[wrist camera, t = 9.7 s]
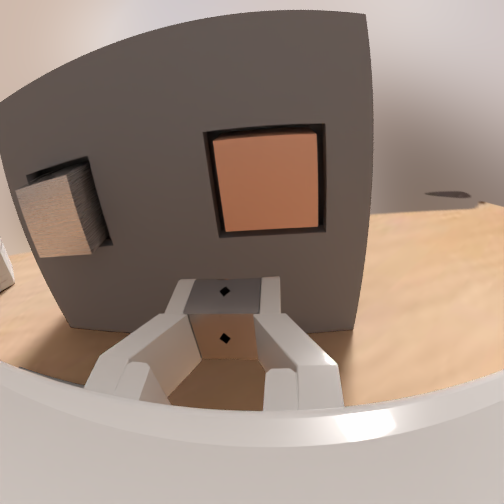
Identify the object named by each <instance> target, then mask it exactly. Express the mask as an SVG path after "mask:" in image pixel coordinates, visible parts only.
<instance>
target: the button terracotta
mask: <svg viewBox="0 0 504 504" xmlns="http://www.w3.org/2000/svg"><path fill="white" fill-rule="evenodd" d="M213 146H214V153H215V161H216V168H217V175H218V182H219V189H220V196H221V203H222V210H223V216H224V223H225V229H226V232H231V231H247V230H264V229H282V228H301V227H318V162H317V134H316V133H315V132H314V131H313V130H311V129H310V128H309V127H288V128H270V129H256V130H244V131H234V132H225V133H221V134H220V135H219V136H218V137H217V138H216V139H215V140H214V141H213Z"/></svg>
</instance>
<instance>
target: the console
mask: <svg viewBox="0 0 504 504" xmlns="http://www.w3.org/2000/svg"><path fill="white" fill-rule="evenodd" d="M288 127H309V128H310V129H311V130H313V131H314V132H315V133H316V134H317V162H318V227H301V228H282V229H264V230H247V231H231V232H226V229H225V223H224V216H223V210H222V203H221V196H220V189H219V182H218V175H217V168H216V161H215V153H214V146H213V141H214V140H215V139H216V138H217V137H218V136H219V135H220V134H221V133H225V132H234V131H244V130H256V129H270V128H288ZM0 155H1V159H2V163H3V167H4V171H5V175H6V179H7V182H8V186H9V189H10V193H11V196H12V199H13V202H14V205H15V208H16V211H17V214H18V217H19V220H20V222H21V225H22V228H23V230H24V233H25V236H26V238H27V241H28V243H29V245H30V248H31V250H32V253H33V255H34V257H35V259H36V262H37V264H38V266H39V268H40V270H41V272H42V275H43V277H44V279H45V281H46V283H47V285H48V287H49V289H50V291H51V293H52V295H53V296H54V298H55V300H56V302H57V304H58V306H59V308H60V309H61V311H62V313H63V315H64V316H65V318H66V320H67V322H68V323H69V325H70V327H73V328H82V329H92V330H102V331H114V332H127V333H133V332H134V331H135V330H137V329H138V328H140V327H141V326H143V325H144V324H145V323H147V322H148V321H150V320H151V319H153V318H154V317H155V316H157V315H158V314H164V313H165V310H166V308H167V306H168V303H169V301H170V299H171V297H172V294H173V292H174V290H175V288H176V285H177V283H178V281H179V280H181V279H244V278H262V277H274V276H279V277H280V292H281V313H286V314H287V315H288V316H289V317H290V318H291V319H292V320H293V321H294V322H295V323H296V324H297V325H298V326H299V327H300V328H301V329H302V330H303V331H304V332H305V333H316V332H330V331H342V330H352V329H353V328H354V323H355V318H356V313H357V307H358V302H359V296H360V290H361V283H362V277H363V270H364V262H365V255H366V247H367V238H368V228H369V218H370V205H371V190H372V173H373V89H372V71H371V59H370V47H369V39H368V29H367V22H366V15H365V14H359V13H350V12H338V11H321V10H279V11H278V10H277V11H260V12H248V13H239V14H230V15H224V16H217V17H211V18H204V19H199V20H194V21H189V22H184V23H181V24H176V25H171V26H168V27H164V28H160V29H157V30H153V31H149V32H146V33H142V34H139V35H136V36H133V37H130V38H127V39H124V40H121V41H118V42H116V43H113V44H110V45H108V46H105V47H103V48H100V49H97V50H95V51H93V52H90V53H88V54H86V55H83V56H81V57H79V58H77V59H75V60H73V61H70V62H68V63H66V64H64V65H62V66H60V67H58V68H56V69H54V70H52V71H51V72H49V73H47V74H45V75H43V76H41V77H40V78H38V79H36V80H34V81H33V82H31V83H30V84H28V85H26V86H24V87H23V88H21V89H20V90H18V91H16V92H15V93H13V94H12V95H10V96H9V97H7V98H6V99H4V100H3V101H2V102H0ZM87 161H89V163H90V167H91V171H92V175H93V179H94V183H95V187H96V190H97V194H98V198H99V201H100V205H101V208H102V211H103V215H104V218H105V221H106V224H107V227H108V231H109V234H110V235H109V236H108V237H107V238H106V239H105V240H104V241H103V242H102V243H101V244H100V246H99V247H98V248H97V249H96V250H95V251H94V252H93V254H88V255H73V256H59V257H44V258H40V257H39V254H38V252H37V250H36V247H35V245H34V242H33V240H32V237H31V235H30V232H29V230H28V227H27V224H26V221H25V219H24V216H23V213H22V210H21V207H20V204H19V201H18V198H17V195H16V191H15V190H17V189H19V188H20V187H22V186H24V185H25V184H27V183H29V182H30V181H32V180H34V179H35V178H37V177H39V176H41V175H43V174H46V173H49V172H52V171H55V170H59V169H62V168H65V167H69V166H72V165H76V164H80V163H83V162H87Z"/></svg>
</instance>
